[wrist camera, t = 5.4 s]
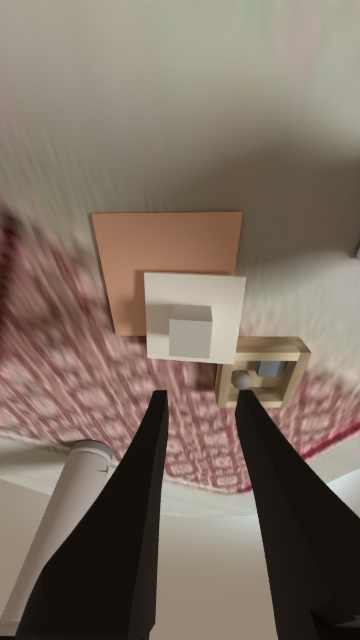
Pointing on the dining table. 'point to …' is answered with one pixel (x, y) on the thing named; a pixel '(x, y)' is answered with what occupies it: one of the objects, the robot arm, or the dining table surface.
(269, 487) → the robot arm
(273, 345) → the box
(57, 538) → the travel mug
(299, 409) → the dining table surface
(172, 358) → the lid
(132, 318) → the mat
